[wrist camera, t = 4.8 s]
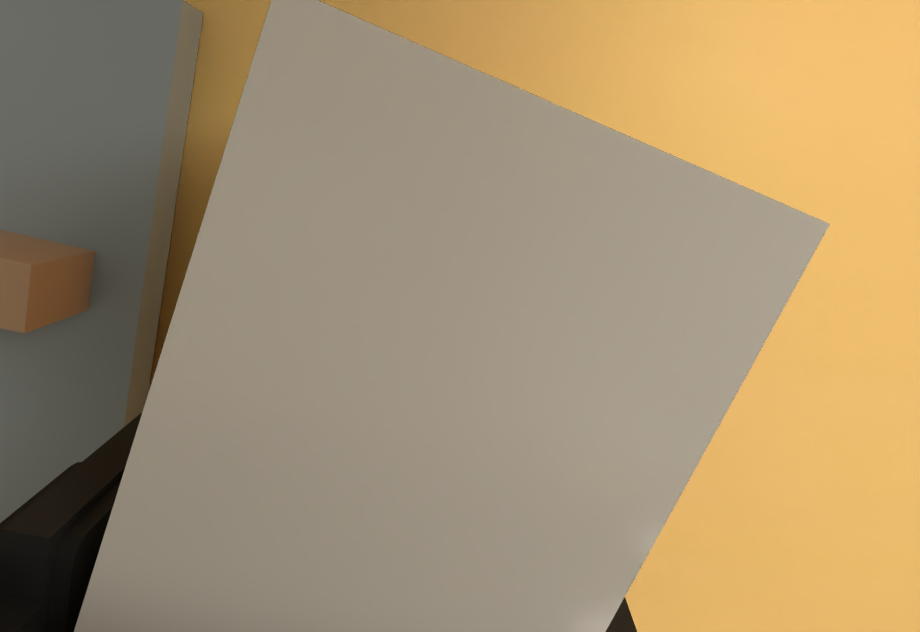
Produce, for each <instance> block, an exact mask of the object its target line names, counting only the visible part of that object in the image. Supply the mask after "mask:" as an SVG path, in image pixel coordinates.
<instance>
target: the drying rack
mask: <svg viewBox="0 0 920 632" xmlns="http://www.w3.org/2000/svg"><path fill="white" fill-rule="evenodd" d="M202 19H203V13H202V12H201V11H199V10H198V9H196V8H195V7H193V6H191V5H190V4H188V3H187V2H185V1H184V0H0V523H1V522H2V521H3V520H5V519H6V518H7V517H8V516H10V515H11V514H12V513H13V512H14V511H16V510H17V509H18V508H19V507H21V506H22V505H23V504H24V503H26V502H27V501H28V500H29V499H30V498H32V497H33V496H34V495H35V494H37V493H38V492H39V491H40V490H42V489H43V488H44V487H45V486H46V485H48V484H49V483H50V482H51V481H53V480H54V479H55V478H56V477H58V476H59V475H60V474H61V473H62V472H64V471H65V470H66V469H67V468H69V467H70V466H71V465H73V464H75V463H77V462H82V461H84V460H85V459H86V458H87V457H88V456H90V455H91V454H92V453H93V452H94V451H96V450H97V449H98V448H99V447H101V446H102V445H103V444H104V443H105V442H107V441H108V440H109V439H110V438H111V437H113V436H114V435H115V434H116V433H117V432H119V431H120V430H121V429H122V428H123V427H125V426H126V425H127V424H128V423H130V422H131V421H132V420H133V419H134V418H136V417H137V416H138V415H139V414H140V413H142V412H143V409H144V406H145V403H146V399H147V396H148V391H149V385H150V378H151V371H152V364H153V357H154V350H155V343H156V336H157V329H158V323H159V316H160V309H161V302H162V295H163V288H164V281H165V274H166V267H167V261H168V254H169V247H170V240H171V233H172V226H173V219H174V212H175V205H176V198H177V192H178V185H179V178H180V171H181V164H182V157H183V150H184V143H185V136H186V130H187V123H188V116H189V109H190V102H191V95H192V88H193V81H194V74H195V68H196V61H197V54H198V47H199V40H200V33H201V26H202Z"/></svg>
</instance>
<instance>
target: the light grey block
mask: <svg viewBox="0 0 920 632" xmlns="http://www.w3.org/2000/svg"><path fill="white" fill-rule="evenodd" d="M829 225H830V224H829V223H826V222H824V221H822V220H819V219H817V218H815V217H813V216H810V215H808V214H806V213H803V212H801V211H799V210H797V209H794V208H792V207H790V206H787V205H785V204H783V203H781V202H778V201H776V200H774V199H771V198H769V197H767V196H765V195H762V194H760V193H758V192H755V191H753V190H751V189H749V188H746V187H744V186H742V185H739V184H737V183H735V182H733V181H730V180H728V179H726V178H723V177H721V176H719V175H717V174H714V173H712V172H710V171H707V170H705V169H703V168H701V167H698V166H696V165H694V164H691V163H689V162H687V161H684V160H682V159H680V158H678V157H675V156H673V155H671V154H668V153H666V152H664V151H662V150H659V149H657V148H655V147H652V146H650V145H648V144H646V143H643V142H641V141H639V140H636V139H634V138H632V137H630V136H627V135H625V134H623V133H620V132H618V131H616V130H614V129H611V128H609V127H607V126H604V125H602V124H600V123H598V122H595V121H593V120H591V119H588V118H586V117H584V116H582V115H579V114H577V113H575V112H572V111H570V110H568V109H566V108H563V107H561V106H559V105H556V104H554V103H552V102H550V101H547V100H545V99H543V98H540V97H538V96H536V95H534V94H531V93H529V92H527V91H524V90H522V89H520V88H518V87H515V86H513V85H511V84H508V83H506V82H504V81H501V80H499V79H497V78H495V77H492V76H490V75H488V74H485V73H483V72H481V71H479V70H476V69H474V68H472V67H469V66H467V65H465V64H463V63H460V62H458V61H456V60H453V59H451V58H449V57H447V56H444V55H442V54H440V53H437V52H435V51H433V50H431V49H428V48H426V47H424V46H421V45H419V44H417V43H415V42H412V41H410V40H408V39H405V38H403V37H401V36H399V35H396V34H394V33H392V32H389V31H387V30H385V29H383V28H380V27H378V26H376V25H373V24H371V23H369V22H367V21H364V20H362V19H360V18H357V17H355V16H353V15H351V14H348V13H346V12H344V11H341V10H339V9H337V8H334V7H332V6H330V5H328V4H325V3H323V2H321V1H318V0H271V3H270V7H269V10H268V13H267V16H266V19H265V23H264V26H263V29H262V32H261V35H260V39H259V42H258V45H257V48H256V51H255V54H254V58H253V61H252V64H251V67H250V70H249V74H248V77H247V80H246V83H245V86H244V90H243V93H242V96H241V99H240V102H239V106H238V109H237V112H236V115H235V118H234V122H233V125H232V128H231V131H230V134H229V138H228V141H227V144H226V147H225V150H224V154H223V157H222V160H221V163H220V166H219V169H218V173H217V176H216V179H215V182H214V185H213V189H212V192H211V195H210V198H209V201H208V205H207V208H206V211H205V214H204V217H203V221H202V224H201V227H200V230H199V233H198V237H197V240H196V243H195V246H194V249H193V253H192V256H191V259H190V262H189V265H188V268H187V272H186V275H185V278H184V281H183V284H182V288H181V291H180V294H179V297H178V300H177V304H176V307H175V310H174V313H173V316H172V320H171V323H170V326H169V329H168V332H167V336H166V339H165V342H164V345H163V348H162V352H161V355H160V358H159V361H158V364H157V368H156V371H155V374H154V377H153V380H152V384H151V387H150V390H149V393H148V396H147V399H146V403H145V406H144V409H143V412H142V415H141V419H140V422H139V425H138V428H137V431H136V435H135V438H134V441H133V444H132V447H131V451H130V454H129V457H128V460H127V463H126V467H125V470H124V473H123V476H122V479H121V483H120V486H119V489H118V492H117V495H116V498H115V502H114V505H113V508H112V511H111V514H110V518H109V521H108V524H107V527H106V530H105V534H104V537H103V540H102V543H101V546H100V550H99V553H98V556H97V559H96V562H95V566H94V569H93V572H92V575H91V578H90V582H89V585H88V588H87V591H86V594H85V598H84V601H83V604H82V607H81V610H80V614H79V617H78V620H77V623H76V626H75V629H74V632H606V630H607V628H608V626H609V624H610V623H611V621H612V619H613V617H614V615H615V614H616V612H617V610H618V608H619V606H620V604H621V603H622V601H623V599H624V597H625V595H626V594H627V592H628V590H629V588H630V586H631V584H632V583H633V581H634V579H635V577H636V575H637V574H638V572H639V570H640V568H641V566H642V564H643V563H644V561H645V559H646V557H647V555H648V554H649V552H650V550H651V548H652V546H653V545H654V543H655V541H656V539H657V537H658V535H659V534H660V532H661V530H662V528H663V526H664V525H665V523H666V521H667V519H668V517H669V515H670V514H671V512H672V510H673V508H674V506H675V505H676V503H677V501H678V499H679V497H680V495H681V494H682V492H683V490H684V488H685V486H686V485H687V483H688V481H689V479H690V477H691V476H692V474H693V472H694V470H695V468H696V466H697V465H698V463H699V461H700V459H701V457H702V456H703V454H704V452H705V450H706V448H707V446H708V445H709V443H710V441H711V439H712V437H713V436H714V434H715V432H716V430H717V428H718V426H719V425H720V423H721V421H722V419H723V417H724V416H725V414H726V412H727V410H728V408H729V407H730V405H731V403H732V401H733V399H734V397H735V396H736V394H737V392H738V390H739V388H740V387H741V385H742V383H743V381H744V379H745V377H746V376H747V374H748V372H749V370H750V368H751V367H752V365H753V363H754V361H755V359H756V357H757V356H758V354H759V352H760V350H761V348H762V347H763V345H764V343H765V341H766V339H767V337H768V336H769V334H770V332H771V330H772V328H773V327H774V325H775V323H776V321H777V319H778V318H779V316H780V314H781V312H782V310H783V308H784V307H785V305H786V303H787V301H788V299H789V298H790V296H791V294H792V292H793V290H794V288H795V287H796V285H797V283H798V281H799V279H800V278H801V276H802V274H803V272H804V270H805V268H806V267H807V265H808V263H809V261H810V259H811V258H812V256H813V254H814V252H815V250H816V249H817V247H818V245H819V243H820V241H821V239H822V238H823V236H824V234H825V232H826V230H827V229H828V227H829Z"/></svg>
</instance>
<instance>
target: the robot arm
mask: <svg viewBox="0 0 920 632" xmlns="http://www.w3.org/2000/svg"><path fill="white" fill-rule="evenodd" d="M141 415H142V413H140V414H139V415H138V416H137V417H136V418H134V419H133V420H132V421H131V422H130V423H128V424H127V425H126V426H125V427H123V428H122V429H121V430H120V431H119V432H117V433H116V434H115V435H114V436H113V437H111V438H110V439H109V440H108V441H107V442H105V443H104V444H103V445H102V446H101V447H99V448H98V449H97V450H96V451H94V452H93V453H92V454H91V455H90V456H88V457H87V458H86V459H85V460H84V461H82V462H77V463H75V464H73V465H71V466H70V467H69V468H67V469H66V470H65V471H64V472H62V473H61V474H60V475H59V476H58V477H56V478H55V479H54V480H53V481H51V482H50V483H49V484H48V485H46V486H45V487H44V488H43V489H42V490H40V491H39V492H38V493H37V494H35V495H34V496H33V497H32V498H30V499H29V500H28V501H27V502H26V503H24V504H23V505H22V506H21V507H19V508H18V509H17V510H16V511H14V512H13V513H12V514H11V515H10V516H8V517H7V518H6V519H5V520H3V521H2V522H1V523H0V632H74V629H75V626H76V623H77V620H78V617H79V614H80V610H81V607H82V604H83V601H84V598H85V594H86V591H87V588H88V585H89V582H90V578H91V575H92V572H93V569H94V566H95V562H96V559H97V556H98V553H99V550H100V546H101V543H102V540H103V537H104V534H105V530H106V527H107V524H108V521H109V518H110V514H111V511H112V508H113V505H114V502H115V498H116V495H117V492H118V489H119V486H120V483H121V479H122V476H123V473H124V470H125V467H126V463H127V460H128V457H129V454H130V451H131V447H132V444H133V441H134V438H135V435H136V431H137V428H138V425H139V422H140V419H141ZM606 632H637V630H636V627H635V625H634V622H633V619H632V616H631V613H630V610H629V608H628V605H627V602H626V599H625V597H624V599H623V601H622V603H621V604H620V606H619V608H618V610H617V612H616V614H615V615H614V617H613V619H612V621H611V623H610V624H609V626H608V628H607V630H606Z"/></svg>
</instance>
